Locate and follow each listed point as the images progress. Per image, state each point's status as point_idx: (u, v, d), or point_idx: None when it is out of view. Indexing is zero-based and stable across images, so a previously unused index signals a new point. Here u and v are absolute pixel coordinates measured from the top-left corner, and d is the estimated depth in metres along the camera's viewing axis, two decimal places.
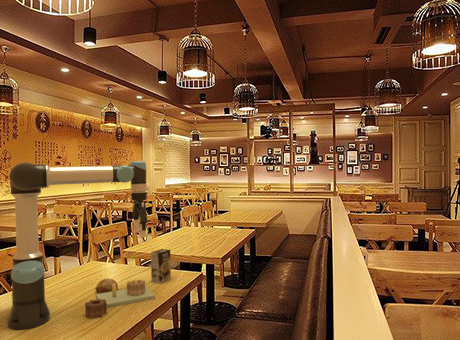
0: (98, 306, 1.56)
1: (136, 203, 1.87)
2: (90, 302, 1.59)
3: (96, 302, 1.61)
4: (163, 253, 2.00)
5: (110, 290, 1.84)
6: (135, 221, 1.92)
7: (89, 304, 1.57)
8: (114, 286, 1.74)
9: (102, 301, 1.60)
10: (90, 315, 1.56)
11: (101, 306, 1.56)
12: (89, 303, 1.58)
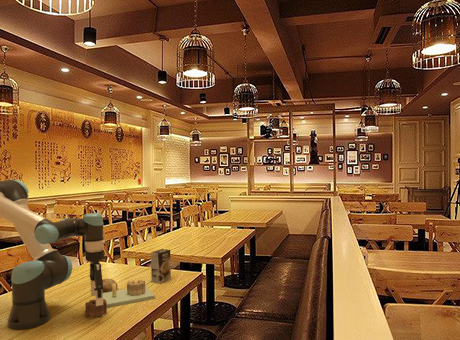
0: (98, 306, 1.56)
1: (92, 263, 1.59)
2: (90, 302, 1.59)
3: None
4: (163, 253, 2.00)
5: (110, 290, 1.84)
6: (93, 282, 1.64)
7: (89, 304, 1.57)
8: (114, 286, 1.74)
9: None
10: (90, 315, 1.56)
11: (101, 306, 1.56)
12: (89, 303, 1.58)
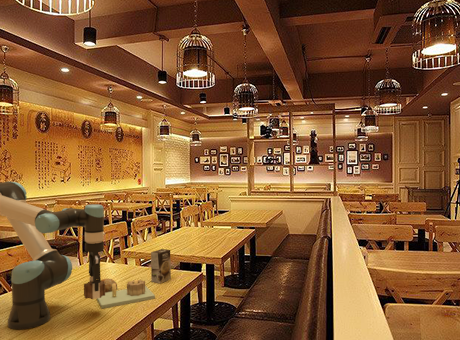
0: None
1: (91, 253, 1.59)
2: (89, 283, 1.59)
3: None
4: (163, 253, 2.00)
5: (109, 290, 1.84)
6: (91, 278, 1.62)
7: (88, 285, 1.57)
8: (114, 286, 1.74)
9: (101, 283, 1.60)
10: (88, 296, 1.56)
11: (100, 287, 1.56)
12: (88, 284, 1.58)
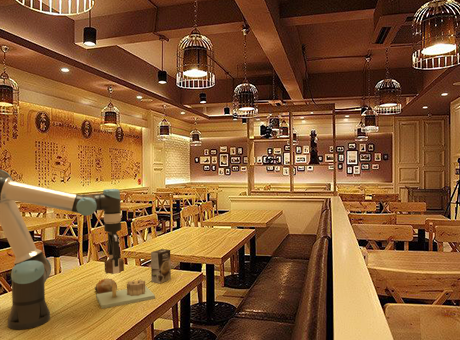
0: None
1: (110, 233, 1.75)
2: (109, 260, 1.75)
3: None
4: (163, 253, 2.00)
5: (109, 290, 1.84)
6: (111, 256, 1.78)
7: (108, 262, 1.73)
8: (114, 286, 1.74)
9: (119, 259, 1.76)
10: (109, 271, 1.72)
11: (119, 263, 1.72)
12: (108, 261, 1.74)
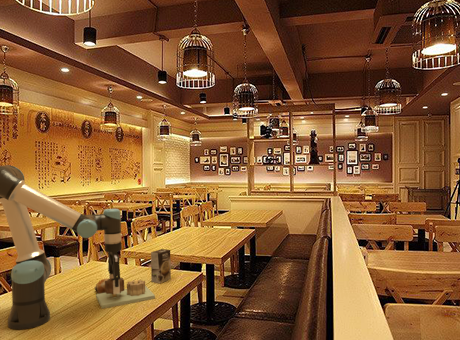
0: None
1: (110, 252, 1.75)
2: (109, 280, 1.75)
3: None
4: (163, 253, 2.00)
5: None
6: (111, 276, 1.79)
7: (108, 282, 1.73)
8: None
9: (120, 279, 1.76)
10: (110, 291, 1.72)
11: (119, 283, 1.73)
12: (108, 281, 1.74)
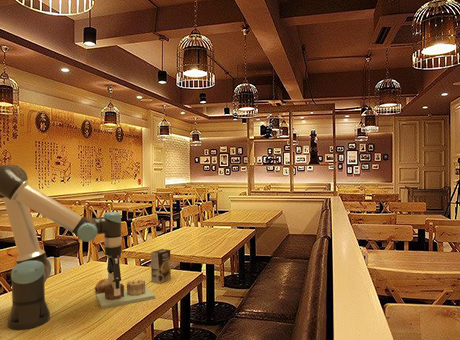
0: None
1: (110, 257, 1.75)
2: (109, 286, 1.75)
3: None
4: (163, 253, 2.00)
5: None
6: (110, 275, 1.81)
7: (108, 287, 1.73)
8: None
9: (120, 285, 1.76)
10: (109, 297, 1.72)
11: None
12: (108, 286, 1.74)
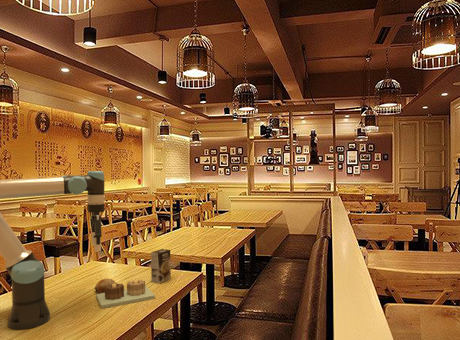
0: (116, 289, 1.72)
1: (93, 215, 1.78)
2: (109, 286, 1.75)
3: None
4: (163, 253, 2.00)
5: None
6: (93, 234, 1.83)
7: (108, 287, 1.73)
8: (114, 286, 1.74)
9: (120, 285, 1.76)
10: (109, 297, 1.72)
11: (119, 289, 1.73)
12: (108, 286, 1.74)
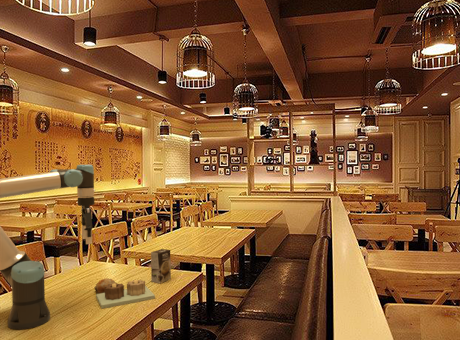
0: (116, 289, 1.72)
1: (83, 208, 1.80)
2: (109, 286, 1.75)
3: None
4: (163, 253, 2.00)
5: None
6: (84, 227, 1.85)
7: (108, 287, 1.73)
8: (114, 286, 1.74)
9: (120, 285, 1.76)
10: (109, 297, 1.72)
11: (119, 289, 1.73)
12: (108, 286, 1.74)
